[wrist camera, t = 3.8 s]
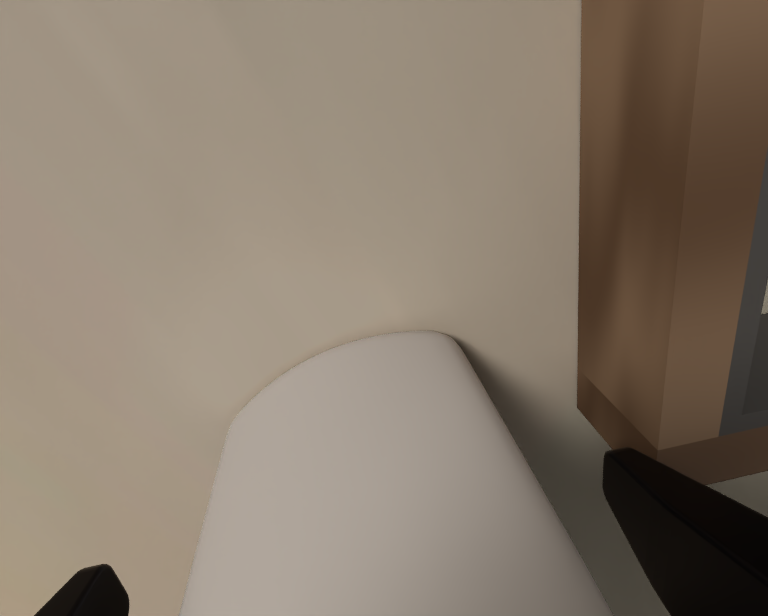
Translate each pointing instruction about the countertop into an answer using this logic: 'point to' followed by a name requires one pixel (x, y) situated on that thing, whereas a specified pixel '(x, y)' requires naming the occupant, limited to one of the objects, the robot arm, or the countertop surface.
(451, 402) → the eye dropper bottle
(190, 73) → the countertop surface
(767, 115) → the rubber-lined collar
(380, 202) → the countertop surface
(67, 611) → the robot arm
